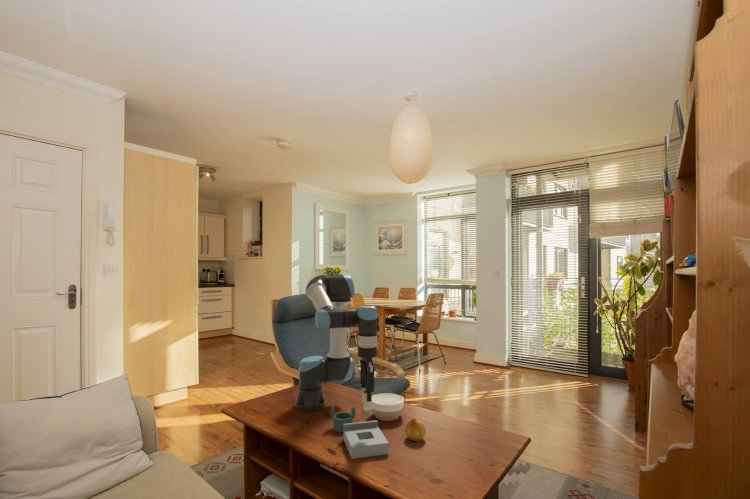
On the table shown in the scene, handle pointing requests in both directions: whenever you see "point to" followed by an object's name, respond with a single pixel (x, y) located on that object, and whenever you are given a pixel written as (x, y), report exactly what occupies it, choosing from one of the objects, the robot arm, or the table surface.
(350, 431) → the jig
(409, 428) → the fruit
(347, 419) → the bracket
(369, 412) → the brass cylinder
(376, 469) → the table surface
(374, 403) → the bowl
